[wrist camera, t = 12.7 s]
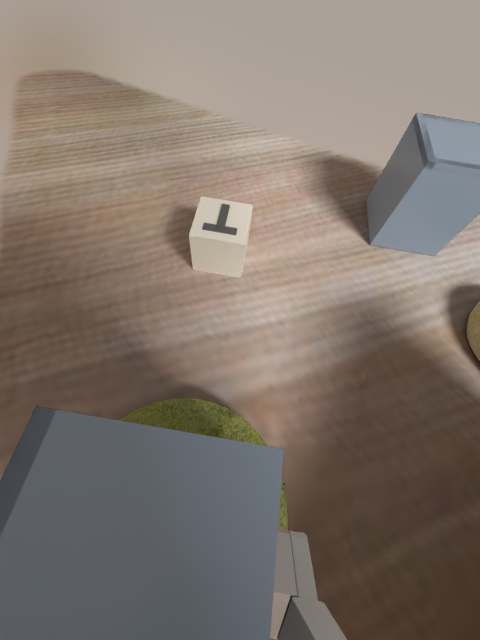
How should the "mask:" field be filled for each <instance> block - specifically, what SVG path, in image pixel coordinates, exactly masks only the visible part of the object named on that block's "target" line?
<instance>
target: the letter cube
mask: <svg viewBox="0 0 480 640" xmlns="http://www.w3.org/2000/svg"><path fill="white" fill-rule="evenodd" d="M252 210H253V205H249V204H243V203H238V202H232V201H226V200H220V199H215V198H209V197H203V196H201V199H200V202H199V205H198V208H197V211H196V214H195V217H194V220H193V224H192V227H191V230H190V233H189V241H190V249H191V258H192V266H193V270H198V271H204V272H209V273H215V274H221V275H227V276H233V277H239V278H241V276H242V271H243V265H244V260H245V254H246V249H247V244H248V237H249V231H250V224H251V217H252Z"/></svg>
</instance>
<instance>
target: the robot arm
mask: <svg viewBox="0 0 480 640" xmlns="http://www.w3.org/2000/svg"><path fill="white" fill-rule="evenodd" d="M270 638H271V639H276V640H347V639H346V637H345V635H344V634H343V632H342V631H341V629H340V627H339V626H338V624H337V623H336V621H335V619H334V618H333V616H332V615H331V613H330V611H329V610H328V608H327V607H326V605H325V603H324V602H321V601H318V596H317V590H316V584H315V579H314V573H313V567H312V561H311V555H310V549H309V544H308V538H307V536H306V534H305V533H302V532H295V531H288V530H287V529H280V528H278V538H277V551H276V565H275V579H274V592H273V606H272V619H271V633H270Z"/></svg>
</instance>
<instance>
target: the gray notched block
mask: <svg viewBox="0 0 480 640" xmlns="http://www.w3.org/2000/svg"><path fill="white" fill-rule="evenodd" d="M366 206H367V218H368V230H369V242H370V245H372V246H378V247H384V248H390V249H396V250H401V251H407V252H413V253H419V254H425V255H431V256H435V255H436V254H437V253H438V252H440V251H441V250H442V249H443V248H444V247H445V246H446V245H447V244H448V243H449V242H450V241H451V240H452V239H453V238H454V237H455V236H456V235H458V234H459V233H460V232H461V231H462V230H463V229H464V228H465V227H466V226H467V225H468V224H469V223H470V222H471V221H472V220H473V219H474V218H476V217H477V216H478V215H479V214H480V123H475V122H468V121H463V120H457V119H451V118H445V117H440V116H434V115H428V114H422V113H416V114H415V116H414V118H413V119H412V121H411V123H410V125H409V126H408V128H407V130H406V132H405V133H404V135H403V137H402V139H401V140H400V142H399V144H398V146H397V147H396V149H395V151H394V153H393V155H392V156H391V158H390V160H389V161H388V163H387V165H386V167H385V168H384V170H383V172H382V174H381V175H380V177H379V179H378V181H377V182H376V184H375V186H374V188H373V189H372V191H371V193H370V195H369V196H368V198H367V200H366Z"/></svg>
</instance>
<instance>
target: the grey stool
mask: <svg viewBox="0 0 480 640" xmlns="http://www.w3.org/2000/svg"><path fill="white" fill-rule="evenodd" d="M283 456H284V449H281V448H275V447H269V446H263V445H258V444H252V443H246V442H240V441H235V440H229V439H223V438H217V437H212V436H206V435H200V434H194V433H189V432H183V431H177V430H171V429H166V428H160V427H154V426H148V425H143V424H137V423H131V422H125V421H120V420H114V419H108V418H102V417H96V416H91V415H85V414H79V413H73V412H68V411H62V410H56V409H50V408H45V407H39V406H36V408H35V410H34V412H33V414H32V416H31V418H30V420H29V422H28V424H27V426H26V429H25V431H24V433H23V435H22V437H21V439H20V441H19V443H18V445H17V447H16V449H15V451H14V454H13V456H12V458H11V460H10V462H9V464H8V466H7V468H6V470H5V472H4V474H3V476H2V479H1V481H0V640H270V633H271V619H272V606H273V592H274V579H275V565H276V551H277V538H278V524H279V511H280V497H281V484H282V470H283Z"/></svg>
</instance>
